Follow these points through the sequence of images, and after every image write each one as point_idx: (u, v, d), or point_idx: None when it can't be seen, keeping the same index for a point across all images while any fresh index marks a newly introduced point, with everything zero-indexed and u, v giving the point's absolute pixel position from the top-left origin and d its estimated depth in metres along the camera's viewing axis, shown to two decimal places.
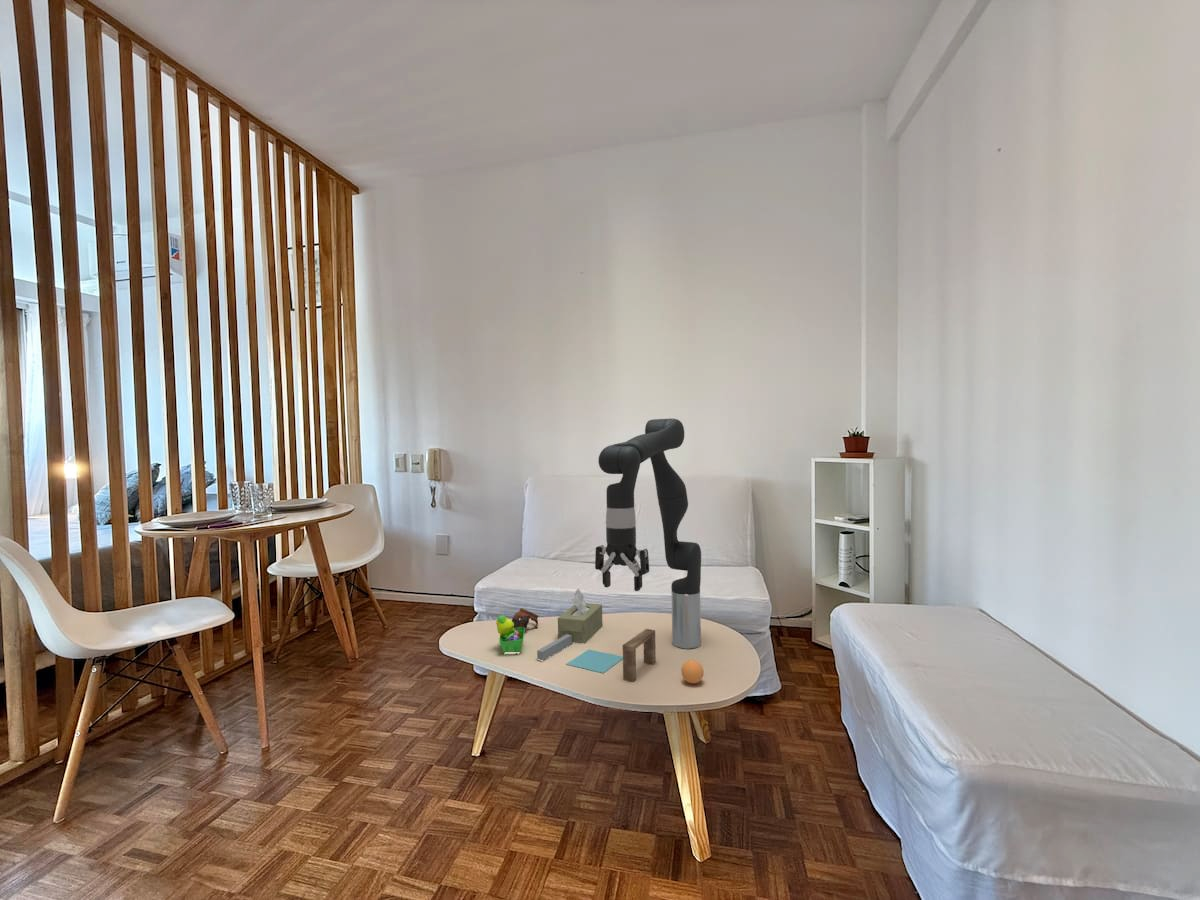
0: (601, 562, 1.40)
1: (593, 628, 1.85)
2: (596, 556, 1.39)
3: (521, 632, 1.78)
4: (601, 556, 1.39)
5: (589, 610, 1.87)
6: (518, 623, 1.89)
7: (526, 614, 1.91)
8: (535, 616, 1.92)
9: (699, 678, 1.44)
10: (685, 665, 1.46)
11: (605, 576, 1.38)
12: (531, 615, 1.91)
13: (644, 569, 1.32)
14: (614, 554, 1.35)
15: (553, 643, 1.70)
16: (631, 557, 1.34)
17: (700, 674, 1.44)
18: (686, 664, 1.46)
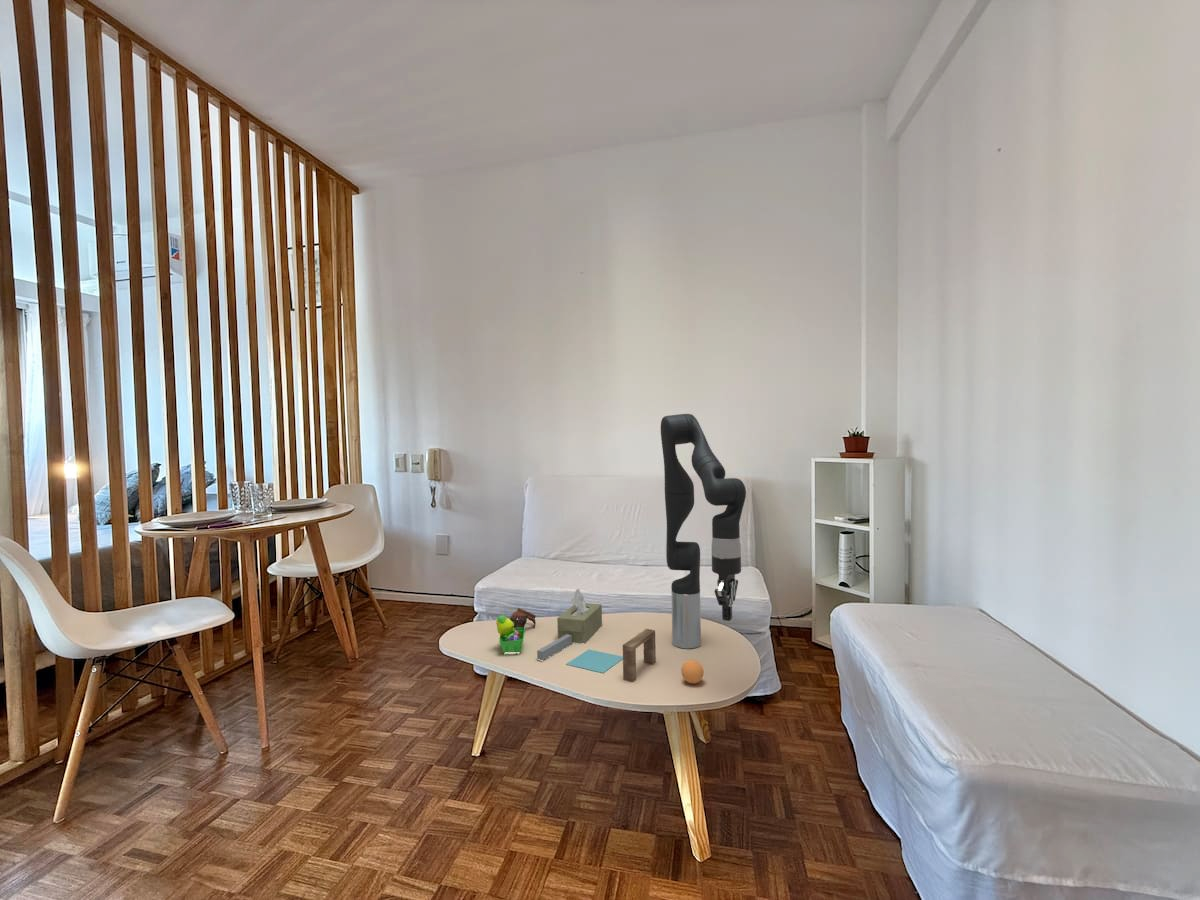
0: None
1: (593, 628, 1.85)
2: (725, 598, 1.37)
3: (521, 632, 1.78)
4: None
5: (589, 610, 1.87)
6: (516, 623, 1.89)
7: (524, 614, 1.91)
8: (533, 616, 1.92)
9: (699, 678, 1.44)
10: (685, 665, 1.46)
11: (730, 609, 1.41)
12: (529, 615, 1.91)
13: (734, 595, 1.43)
14: (732, 582, 1.40)
15: (553, 643, 1.70)
16: None
17: (700, 674, 1.44)
18: (686, 664, 1.46)
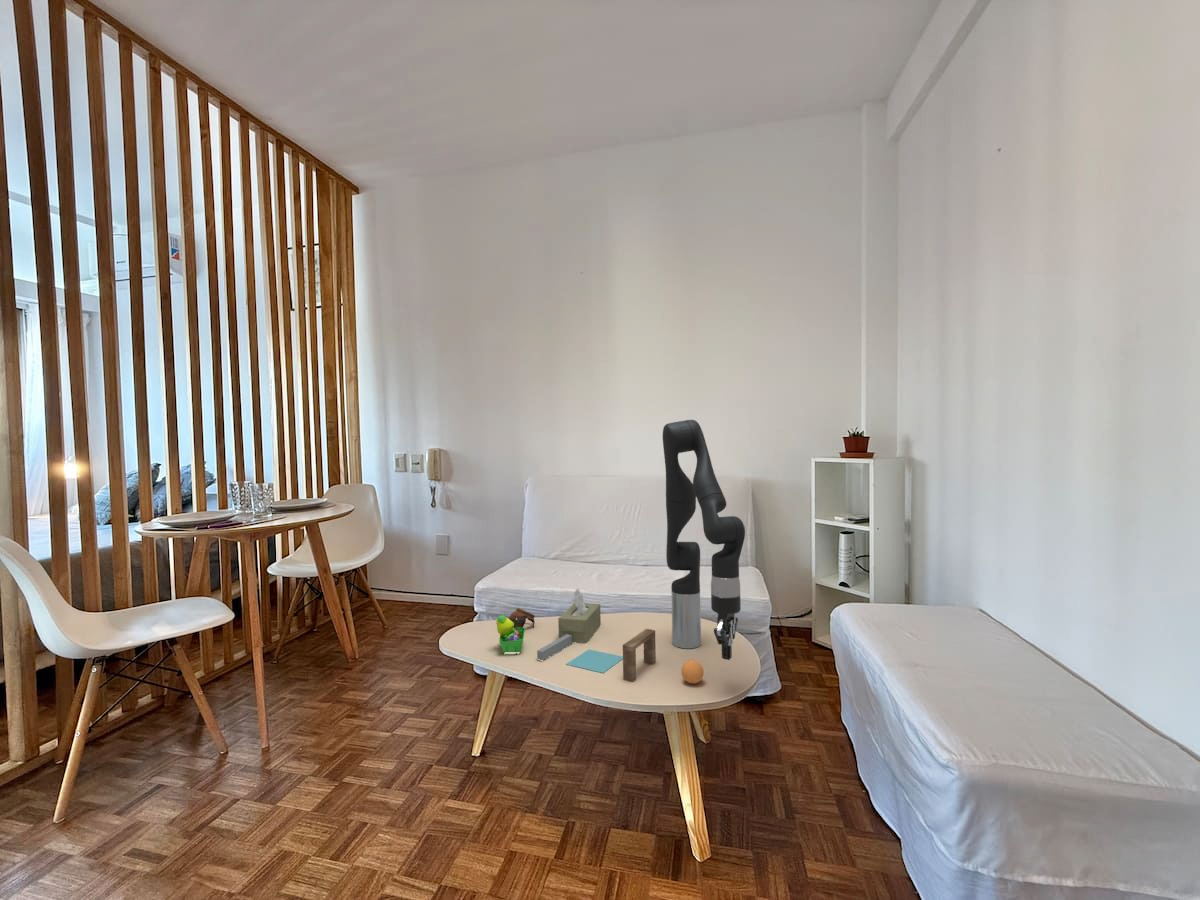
0: None
1: (593, 627, 1.86)
2: (725, 637, 1.37)
3: (521, 632, 1.78)
4: None
5: (588, 610, 1.87)
6: (515, 623, 1.89)
7: (523, 614, 1.91)
8: (532, 616, 1.92)
9: (699, 678, 1.44)
10: (685, 665, 1.46)
11: (730, 648, 1.40)
12: (528, 615, 1.91)
13: (734, 634, 1.43)
14: (732, 621, 1.39)
15: (553, 643, 1.70)
16: None
17: (700, 674, 1.44)
18: (686, 664, 1.46)
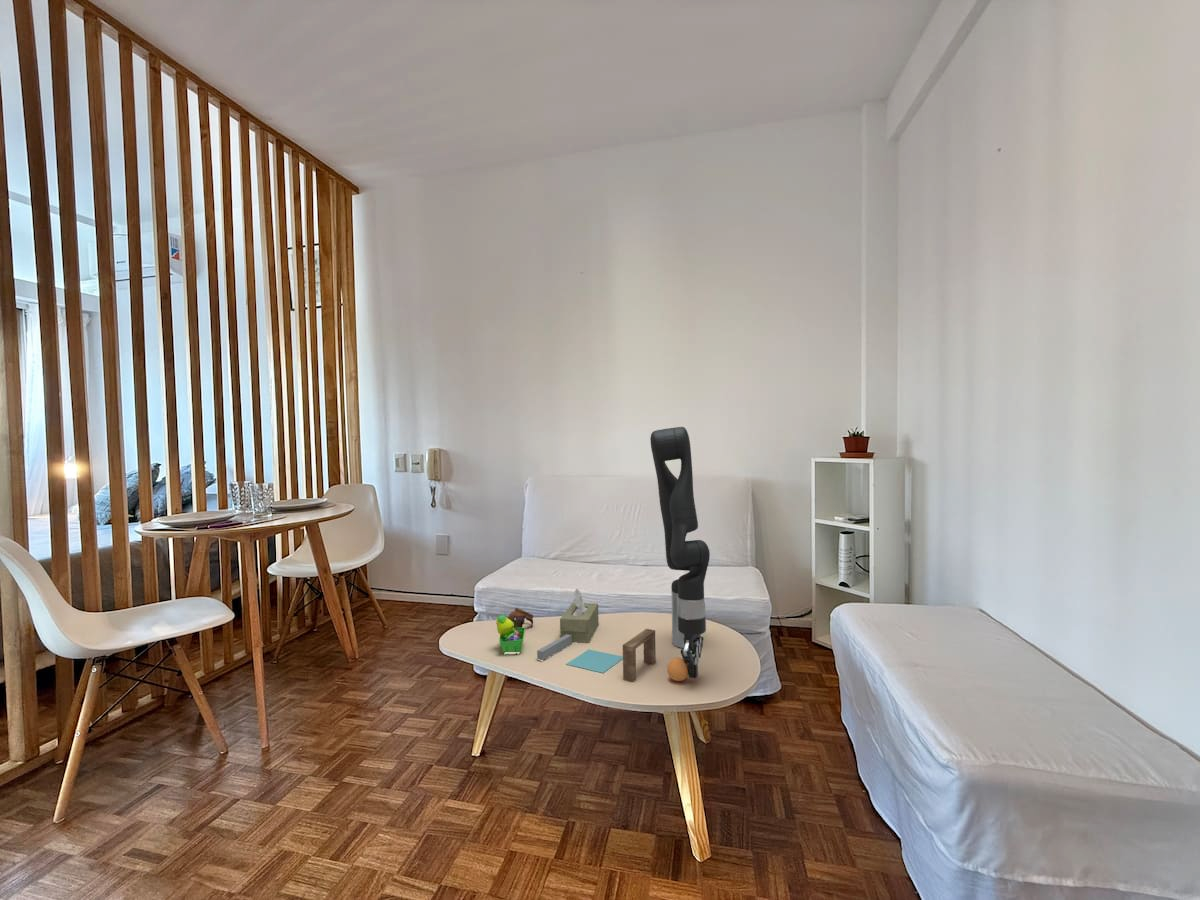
0: None
1: (593, 627, 1.86)
2: (691, 657, 1.42)
3: (521, 632, 1.78)
4: None
5: (588, 610, 1.88)
6: None
7: (521, 614, 1.91)
8: (530, 616, 1.92)
9: (683, 667, 1.46)
10: (667, 670, 1.48)
11: (696, 667, 1.46)
12: (526, 615, 1.91)
13: (700, 652, 1.49)
14: (697, 641, 1.45)
15: (553, 643, 1.70)
16: None
17: (679, 664, 1.46)
18: (667, 669, 1.48)
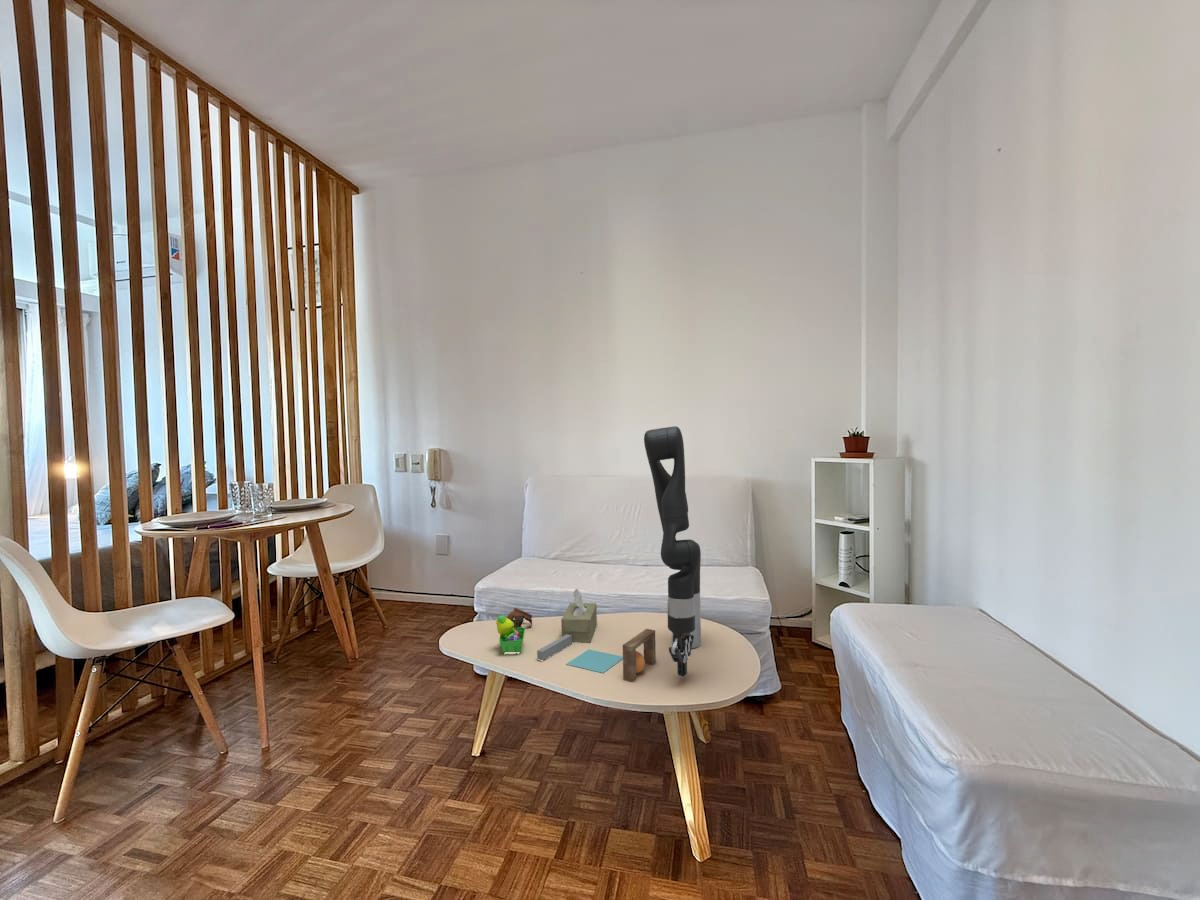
0: None
1: (593, 627, 1.86)
2: (679, 656, 1.44)
3: (521, 632, 1.78)
4: None
5: (588, 609, 1.88)
6: None
7: (520, 614, 1.91)
8: (529, 616, 1.92)
9: None
10: None
11: (685, 665, 1.47)
12: (525, 615, 1.91)
13: (689, 651, 1.50)
14: (686, 640, 1.46)
15: (553, 643, 1.70)
16: None
17: (637, 671, 1.52)
18: (636, 656, 1.52)
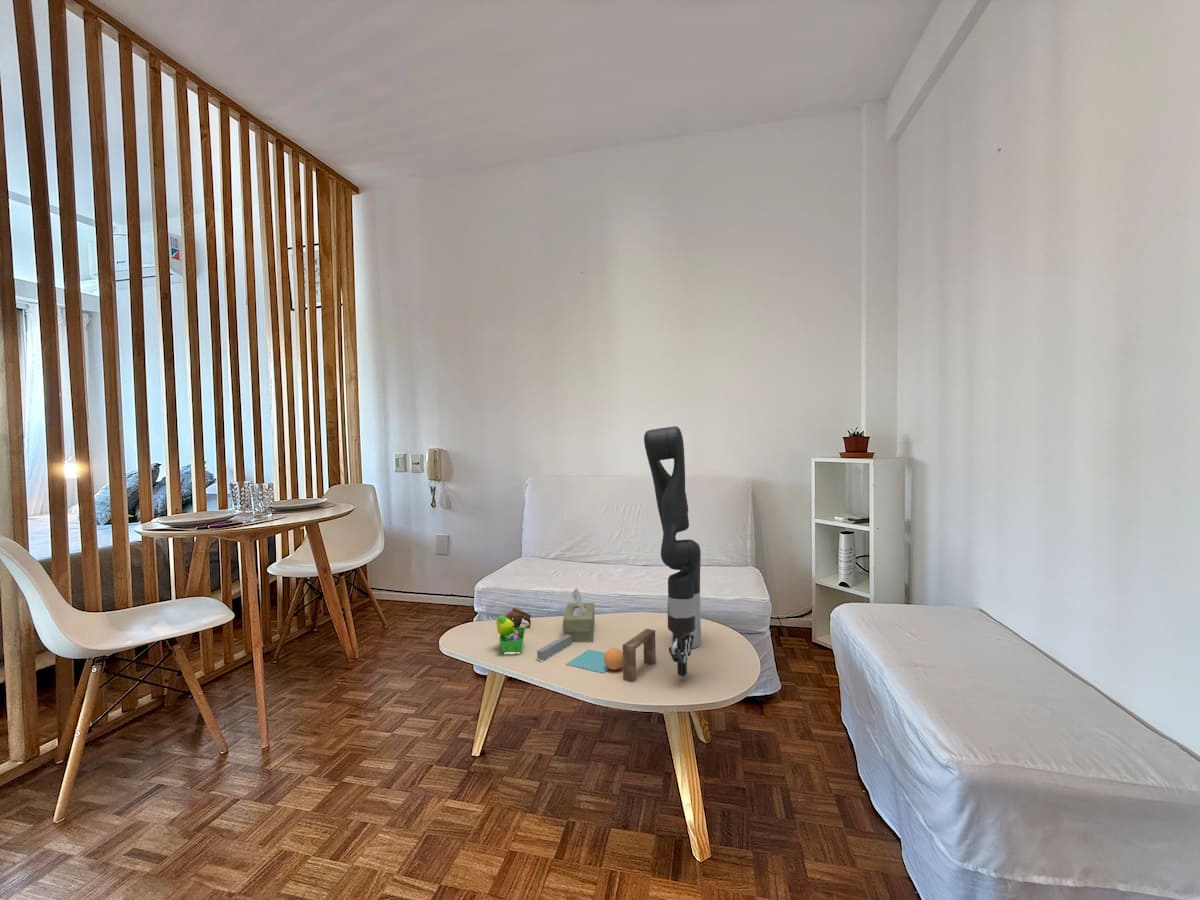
0: None
1: None
2: (679, 656, 1.44)
3: (521, 632, 1.78)
4: None
5: (587, 609, 1.88)
6: None
7: (519, 614, 1.91)
8: (528, 616, 1.93)
9: (617, 656, 1.54)
10: (604, 660, 1.56)
11: (685, 665, 1.47)
12: (524, 615, 1.92)
13: (689, 651, 1.50)
14: (686, 640, 1.46)
15: (553, 643, 1.70)
16: None
17: (614, 653, 1.55)
18: (604, 659, 1.56)
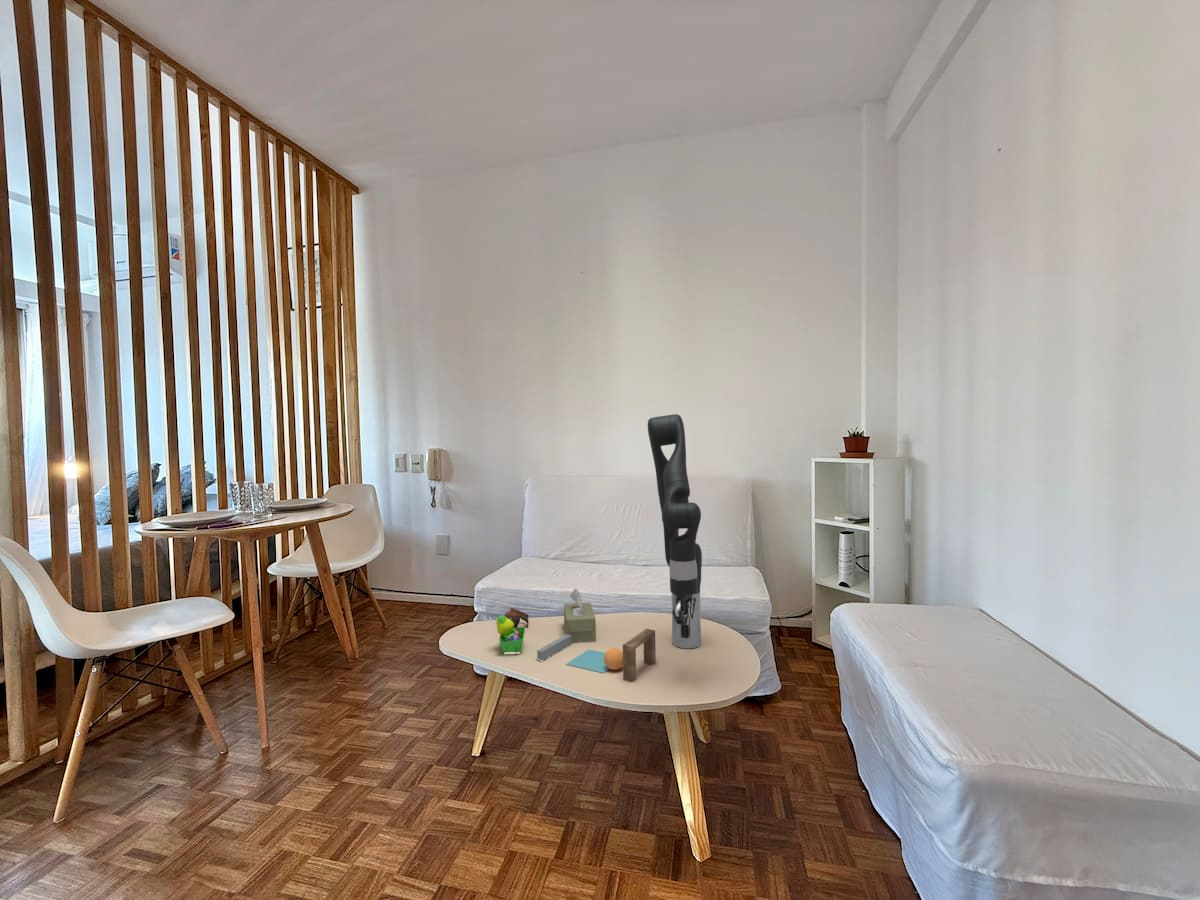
0: (678, 619, 1.46)
1: None
2: (683, 618, 1.43)
3: (521, 632, 1.78)
4: None
5: (587, 609, 1.88)
6: None
7: (517, 614, 1.91)
8: (526, 615, 1.93)
9: (617, 656, 1.54)
10: (604, 660, 1.56)
11: (688, 627, 1.47)
12: (522, 614, 1.92)
13: (692, 613, 1.50)
14: (689, 602, 1.46)
15: (553, 643, 1.70)
16: None
17: (614, 653, 1.55)
18: (604, 659, 1.56)
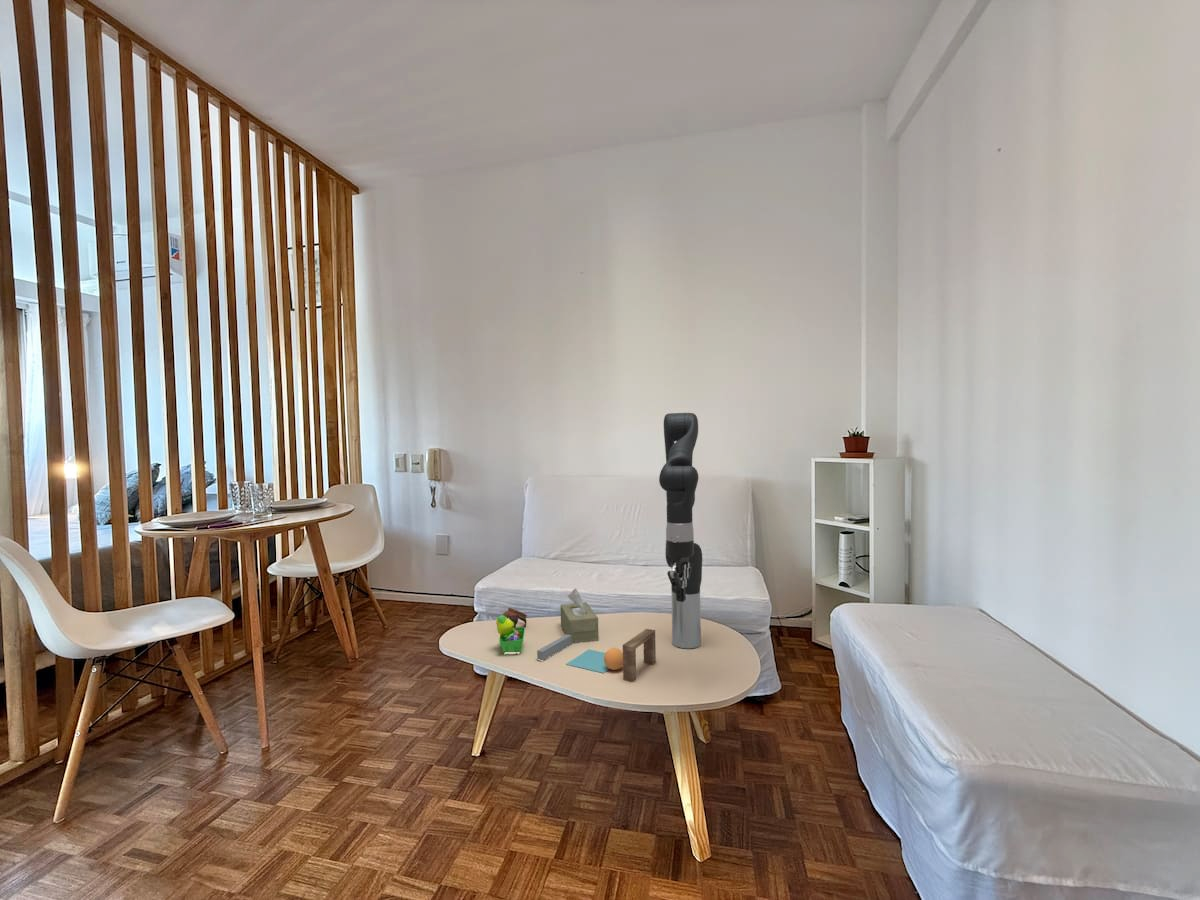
0: (673, 582, 1.46)
1: None
2: (678, 579, 1.44)
3: (521, 632, 1.78)
4: None
5: (586, 609, 1.89)
6: None
7: (515, 613, 1.91)
8: (524, 615, 1.93)
9: (617, 656, 1.54)
10: (604, 660, 1.56)
11: (684, 591, 1.47)
12: (520, 614, 1.92)
13: (688, 578, 1.50)
14: (685, 565, 1.46)
15: (553, 643, 1.70)
16: None
17: (614, 653, 1.55)
18: (604, 659, 1.56)
